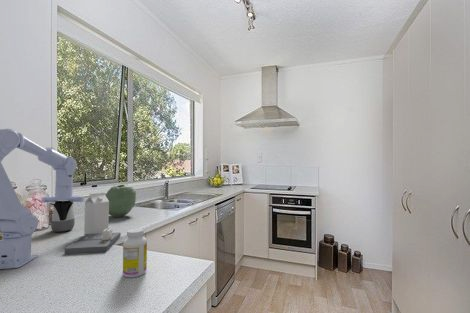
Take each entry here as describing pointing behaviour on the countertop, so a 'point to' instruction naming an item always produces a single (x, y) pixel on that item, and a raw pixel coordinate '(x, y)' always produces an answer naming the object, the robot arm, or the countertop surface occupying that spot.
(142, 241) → the supplement bottle
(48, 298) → the countertop surface
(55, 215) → the smart speaker
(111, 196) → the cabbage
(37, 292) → the countertop surface
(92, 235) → the console board
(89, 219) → the milk carton
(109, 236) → the fader knob
